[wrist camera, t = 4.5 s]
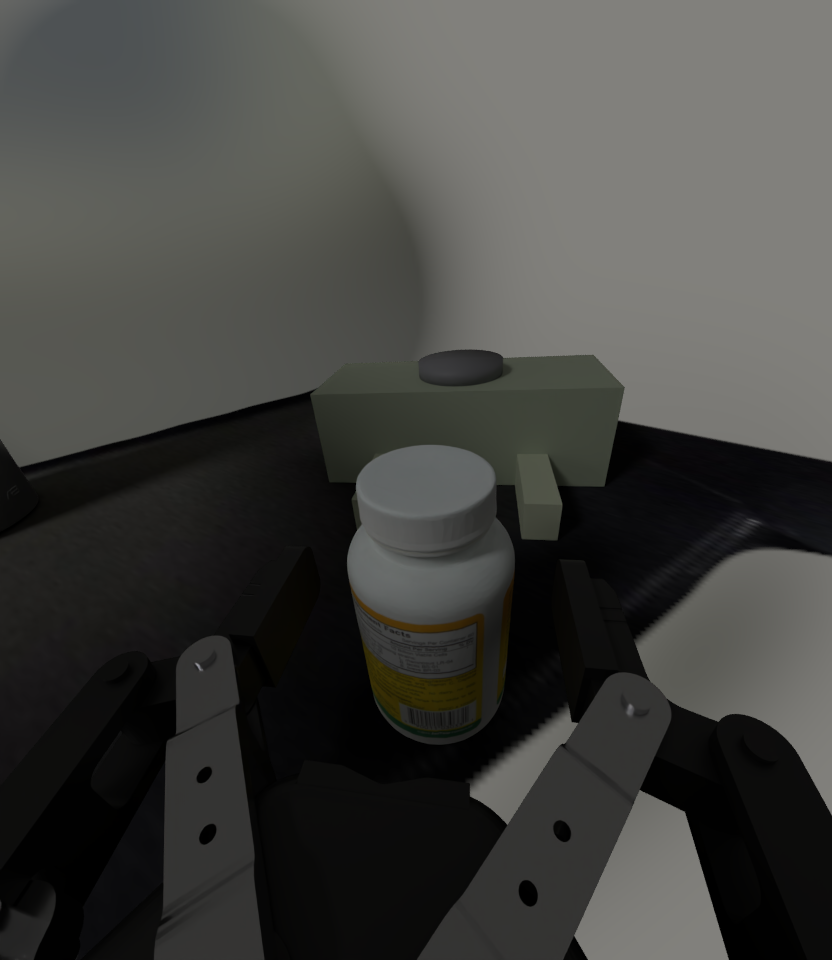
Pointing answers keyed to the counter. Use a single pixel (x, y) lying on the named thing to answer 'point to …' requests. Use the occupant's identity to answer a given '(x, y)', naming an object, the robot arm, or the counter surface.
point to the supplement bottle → (432, 590)
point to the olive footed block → (479, 421)
